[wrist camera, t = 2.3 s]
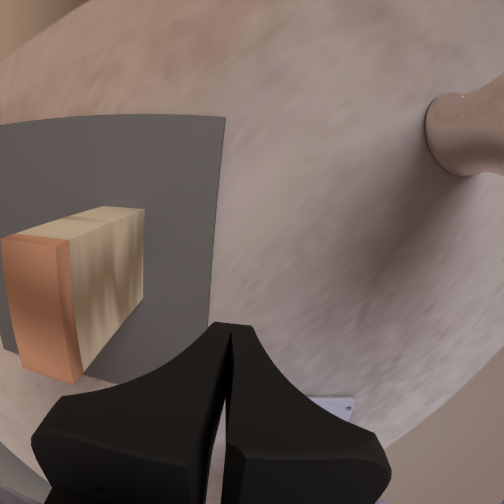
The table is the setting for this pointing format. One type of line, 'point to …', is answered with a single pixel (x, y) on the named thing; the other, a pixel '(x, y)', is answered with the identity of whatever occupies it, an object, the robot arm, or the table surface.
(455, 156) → the beer glass
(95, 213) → the birch block
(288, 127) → the table surface
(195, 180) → the rubber mat
